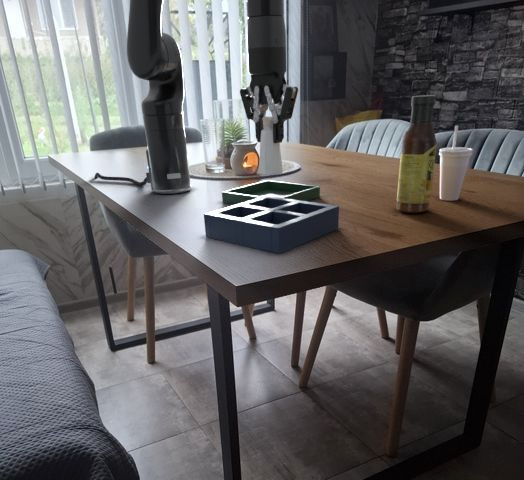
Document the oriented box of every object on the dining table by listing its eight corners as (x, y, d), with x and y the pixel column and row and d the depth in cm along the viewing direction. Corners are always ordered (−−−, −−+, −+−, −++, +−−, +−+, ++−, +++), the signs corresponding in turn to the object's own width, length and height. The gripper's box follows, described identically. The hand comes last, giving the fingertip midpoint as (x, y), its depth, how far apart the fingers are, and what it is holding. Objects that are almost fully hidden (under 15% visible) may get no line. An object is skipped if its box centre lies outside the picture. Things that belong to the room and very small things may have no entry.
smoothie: (428, 196, 104) (437, 125, 97) (457, 194, 104) (468, 123, 98) (440, 202, 98) (450, 127, 92) (470, 201, 99) (483, 126, 92)
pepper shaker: (287, 171, 105) (286, 115, 100) (276, 175, 101) (274, 117, 96) (265, 170, 108) (263, 115, 102) (253, 174, 104) (251, 117, 98)
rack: (205, 237, 84) (203, 213, 82) (267, 216, 95) (266, 195, 93) (279, 254, 74) (278, 228, 72) (338, 229, 85) (339, 205, 83)
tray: (222, 202, 107) (221, 191, 106) (267, 189, 117) (267, 180, 116) (276, 211, 98) (275, 199, 97) (319, 196, 108) (320, 186, 107)
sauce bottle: (430, 214, 91) (445, 95, 81) (396, 214, 92) (407, 97, 82) (427, 206, 96) (441, 94, 87) (394, 206, 98) (405, 95, 88)
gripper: (307, 43, 91) (307, 141, 100) (252, 48, 100) (256, 139, 108) (283, 43, 86) (285, 146, 95) (226, 48, 95) (233, 143, 103)
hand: (269, 141), depth 101 cm, fingers closed on pepper shaker, 4 cm apart
